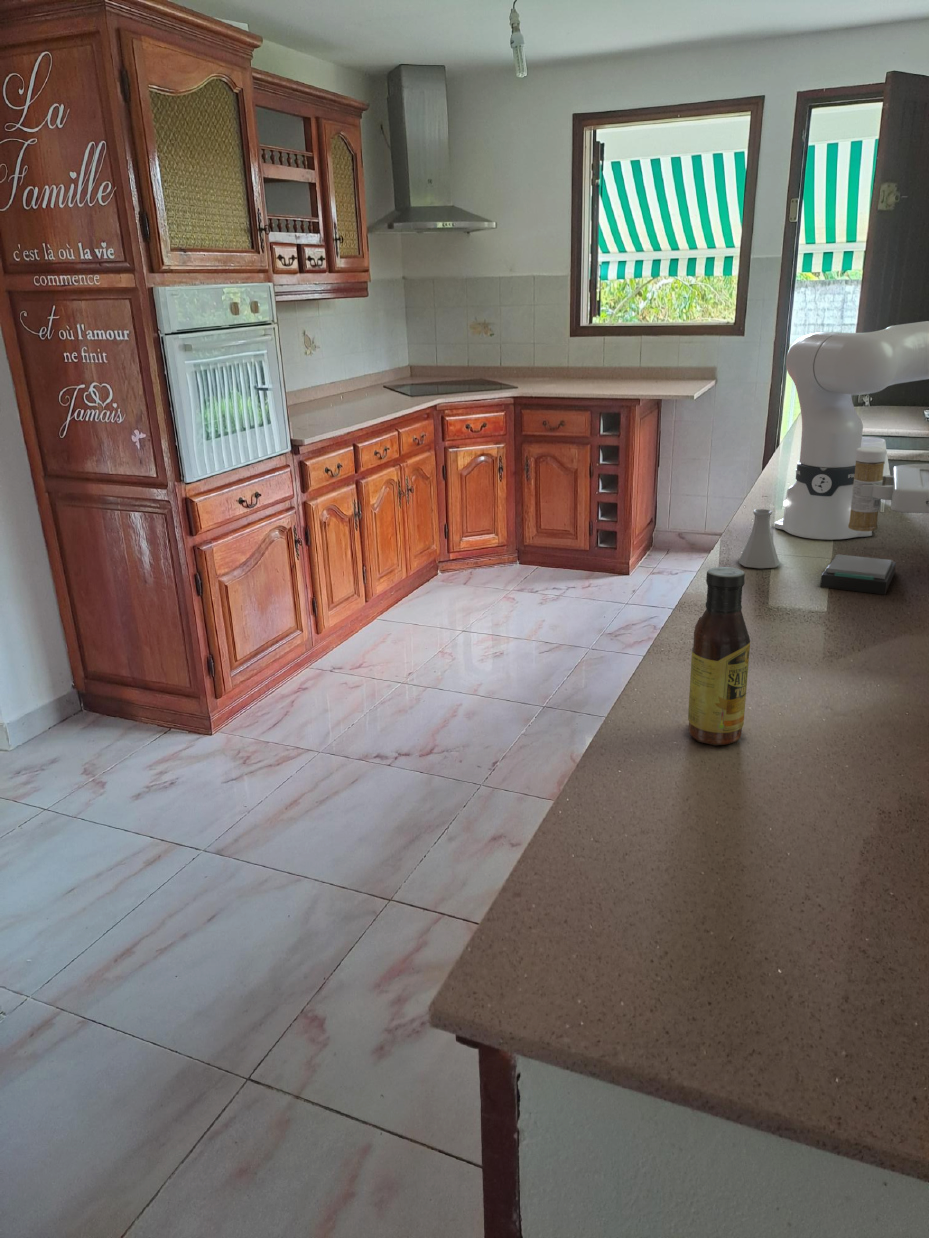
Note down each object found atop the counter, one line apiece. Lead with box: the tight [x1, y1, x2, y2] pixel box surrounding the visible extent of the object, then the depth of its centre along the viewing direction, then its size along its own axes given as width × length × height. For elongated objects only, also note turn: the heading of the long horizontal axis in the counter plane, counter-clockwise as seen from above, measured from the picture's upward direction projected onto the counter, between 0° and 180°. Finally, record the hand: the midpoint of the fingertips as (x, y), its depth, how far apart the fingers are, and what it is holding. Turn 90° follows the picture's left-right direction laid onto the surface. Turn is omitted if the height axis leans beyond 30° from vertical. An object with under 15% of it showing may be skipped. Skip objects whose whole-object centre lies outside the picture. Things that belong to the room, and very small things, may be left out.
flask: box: [738, 508, 780, 569], centre depth 161 cm, size 7×7×10 cm
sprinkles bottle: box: [848, 447, 888, 532], centre depth 145 cm, size 5×5×14 cm
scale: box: [820, 553, 897, 596], centre depth 151 cm, size 12×10×3 cm
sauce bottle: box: [687, 566, 751, 746], centre depth 99 cm, size 6×6×20 cm
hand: (861, 486), depth 145 cm, fingers closed on sprinkles bottle, 4 cm apart
